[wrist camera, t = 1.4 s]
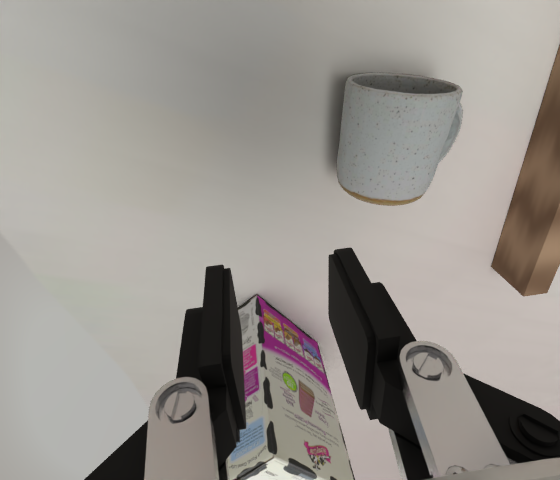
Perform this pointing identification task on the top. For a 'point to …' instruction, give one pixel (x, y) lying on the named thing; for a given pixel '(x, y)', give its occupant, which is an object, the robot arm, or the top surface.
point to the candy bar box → (285, 404)
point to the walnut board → (535, 204)
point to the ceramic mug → (395, 135)
